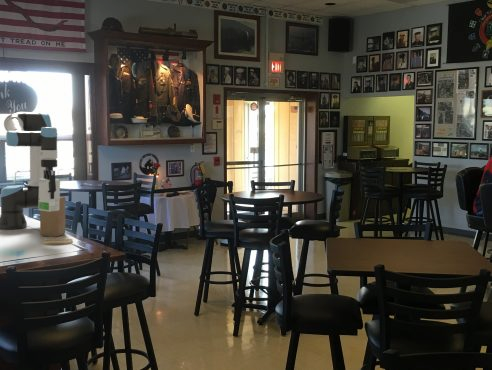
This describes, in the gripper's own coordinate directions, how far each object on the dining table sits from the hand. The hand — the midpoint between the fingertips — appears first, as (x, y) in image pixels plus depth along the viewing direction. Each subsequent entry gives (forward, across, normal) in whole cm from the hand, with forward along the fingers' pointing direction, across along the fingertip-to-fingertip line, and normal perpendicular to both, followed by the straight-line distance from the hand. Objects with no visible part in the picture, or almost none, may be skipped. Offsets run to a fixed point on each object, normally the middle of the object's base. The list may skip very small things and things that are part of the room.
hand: (49, 204), depth 273 cm
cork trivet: (+19, +2, +3) cm, 19 cm away
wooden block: (+18, -19, +6) cm, 27 cm away
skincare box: (+3, 0, 0) cm, 3 cm away
